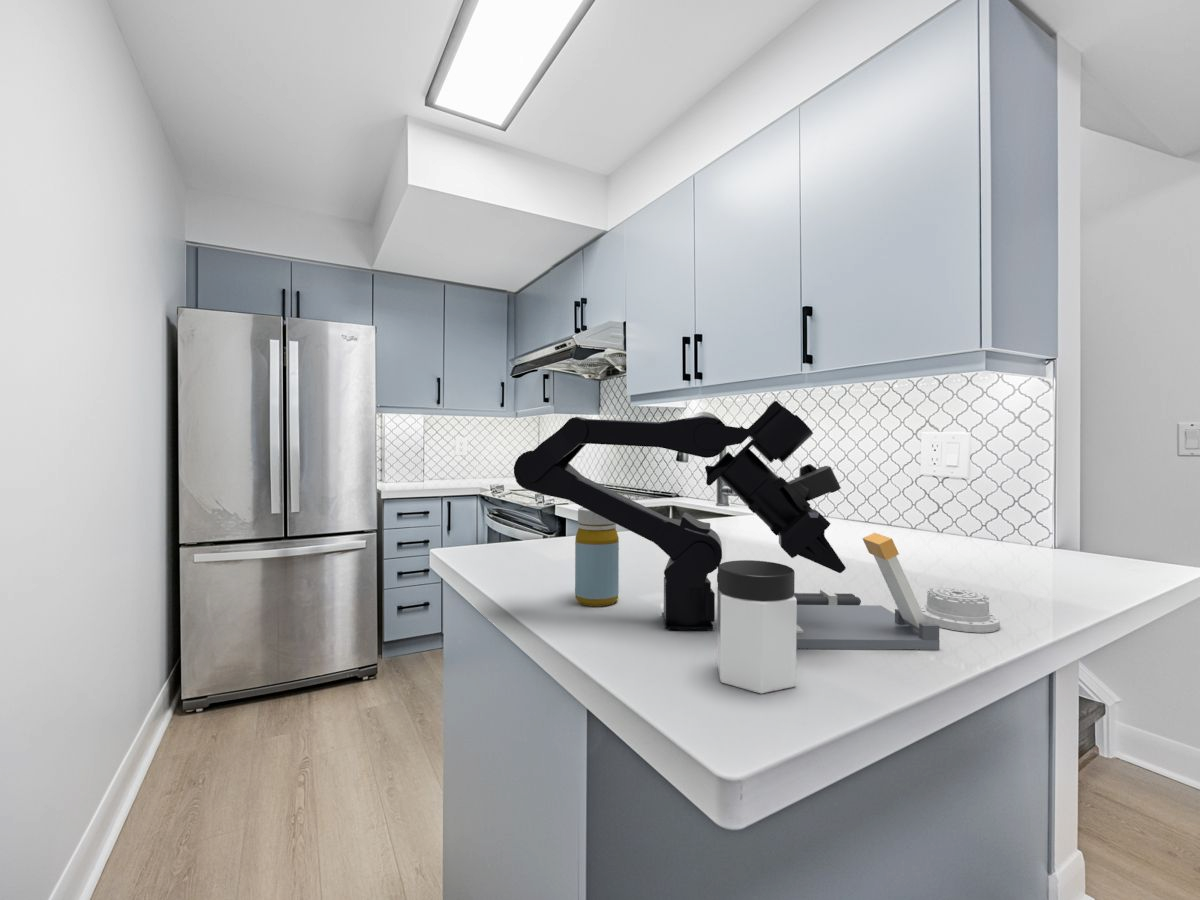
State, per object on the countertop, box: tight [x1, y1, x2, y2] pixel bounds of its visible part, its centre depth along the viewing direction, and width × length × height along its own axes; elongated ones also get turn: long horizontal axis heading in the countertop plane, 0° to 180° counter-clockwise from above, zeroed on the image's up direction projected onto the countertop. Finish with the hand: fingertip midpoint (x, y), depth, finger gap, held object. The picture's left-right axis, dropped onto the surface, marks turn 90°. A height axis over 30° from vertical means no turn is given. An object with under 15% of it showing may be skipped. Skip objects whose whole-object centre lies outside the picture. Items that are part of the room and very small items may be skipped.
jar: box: [716, 559, 797, 694], centre depth 62 cm, size 9×8×12 cm
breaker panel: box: [796, 604, 941, 651], centre depth 77 cm, size 21×15×3 cm
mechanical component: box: [919, 586, 1001, 634], centre depth 81 cm, size 10×4×10 cm
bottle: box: [574, 506, 620, 607], centre depth 91 cm, size 7×7×15 cm
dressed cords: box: [794, 588, 862, 605], centre depth 90 cm, size 19×4×2 cm, turn 89°
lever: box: [861, 532, 927, 631], centre depth 73 cm, size 2×5×13 cm, turn 179°
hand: (842, 570), depth 75 cm, fingers closed
